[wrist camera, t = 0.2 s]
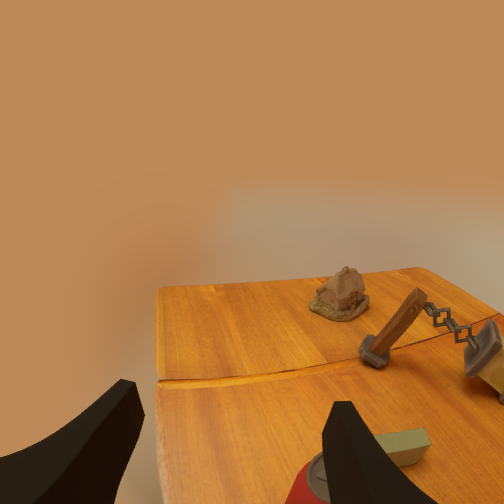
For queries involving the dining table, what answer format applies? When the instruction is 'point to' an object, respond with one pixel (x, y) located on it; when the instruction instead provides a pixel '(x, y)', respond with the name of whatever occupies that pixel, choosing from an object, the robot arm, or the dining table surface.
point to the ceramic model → (341, 296)
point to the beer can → (310, 484)
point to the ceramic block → (405, 445)
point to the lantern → (476, 352)
